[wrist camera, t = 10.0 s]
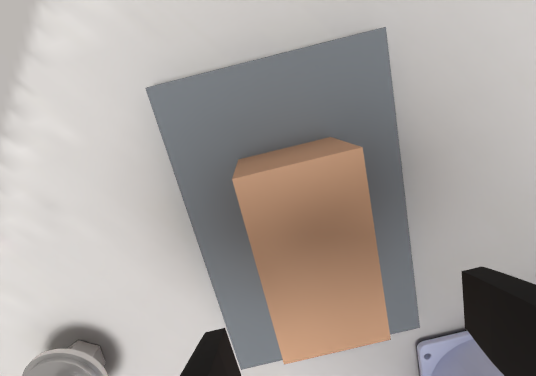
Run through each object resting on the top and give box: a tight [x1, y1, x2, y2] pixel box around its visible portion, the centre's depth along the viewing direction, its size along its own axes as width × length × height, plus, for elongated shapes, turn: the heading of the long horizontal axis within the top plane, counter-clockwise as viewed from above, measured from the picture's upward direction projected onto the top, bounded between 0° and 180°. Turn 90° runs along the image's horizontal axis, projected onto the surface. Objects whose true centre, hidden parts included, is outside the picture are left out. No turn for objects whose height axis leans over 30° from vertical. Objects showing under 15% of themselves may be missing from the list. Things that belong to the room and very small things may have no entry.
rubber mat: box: [146, 27, 420, 370], centre depth 16 cm, size 18×12×1 cm, turn 14°
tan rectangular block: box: [232, 137, 391, 364], centre depth 14 cm, size 5×9×4 cm, turn 13°
